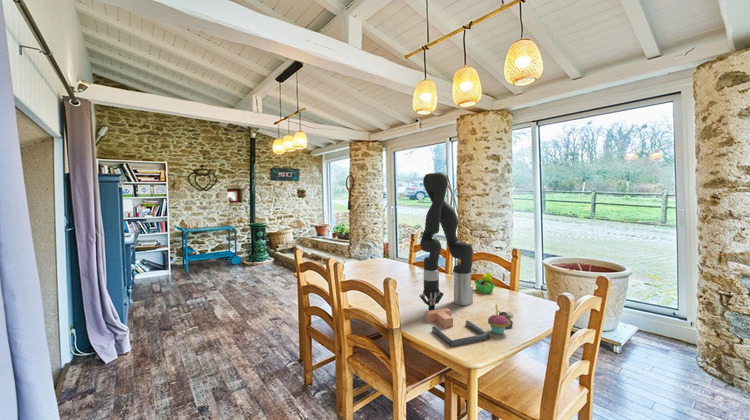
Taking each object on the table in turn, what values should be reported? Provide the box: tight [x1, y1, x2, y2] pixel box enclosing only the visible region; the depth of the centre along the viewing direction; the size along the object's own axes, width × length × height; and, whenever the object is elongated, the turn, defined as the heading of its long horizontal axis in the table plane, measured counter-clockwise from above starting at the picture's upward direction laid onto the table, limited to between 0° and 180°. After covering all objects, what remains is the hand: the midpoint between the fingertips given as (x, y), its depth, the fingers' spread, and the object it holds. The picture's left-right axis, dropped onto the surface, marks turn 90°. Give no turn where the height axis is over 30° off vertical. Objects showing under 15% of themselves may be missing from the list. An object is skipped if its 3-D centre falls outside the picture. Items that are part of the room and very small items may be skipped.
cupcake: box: [487, 303, 509, 335], centre depth 139 cm, size 9×8×12 cm
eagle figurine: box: [498, 310, 514, 330], centre depth 146 cm, size 8×7×9 cm
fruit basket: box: [473, 271, 496, 294], centre depth 194 cm, size 11×9×11 cm
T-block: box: [424, 307, 454, 329], centre depth 151 cm, size 12×12×4 cm
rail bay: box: [431, 320, 491, 348], centre depth 137 cm, size 18×15×2 cm
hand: (431, 312), depth 161 cm, fingers closed
